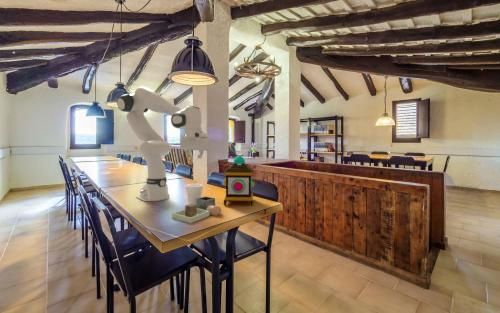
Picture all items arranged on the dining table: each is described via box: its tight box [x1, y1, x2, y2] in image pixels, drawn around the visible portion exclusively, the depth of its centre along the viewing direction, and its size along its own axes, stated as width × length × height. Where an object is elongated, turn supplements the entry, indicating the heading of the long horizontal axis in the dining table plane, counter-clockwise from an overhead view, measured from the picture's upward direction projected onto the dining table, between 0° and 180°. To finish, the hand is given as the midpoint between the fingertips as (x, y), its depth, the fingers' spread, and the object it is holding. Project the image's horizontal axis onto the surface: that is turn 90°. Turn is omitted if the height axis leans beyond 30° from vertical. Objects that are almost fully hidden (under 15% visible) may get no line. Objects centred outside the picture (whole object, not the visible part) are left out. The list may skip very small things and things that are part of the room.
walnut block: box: [184, 203, 197, 218], centre depth 121 cm, size 4×4×6 cm
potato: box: [206, 205, 222, 217], centre depth 126 cm, size 6×5×5 cm
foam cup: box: [185, 183, 204, 205], centre depth 140 cm, size 10×9×13 cm
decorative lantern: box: [223, 155, 256, 207], centre depth 150 cm, size 20×20×30 cm
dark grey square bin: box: [197, 196, 216, 210], centre depth 133 cm, size 7×7×7 cm
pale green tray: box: [171, 208, 211, 224], centre depth 121 cm, size 13×13×3 cm
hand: (194, 158), depth 139 cm, fingers open, 8 cm apart
